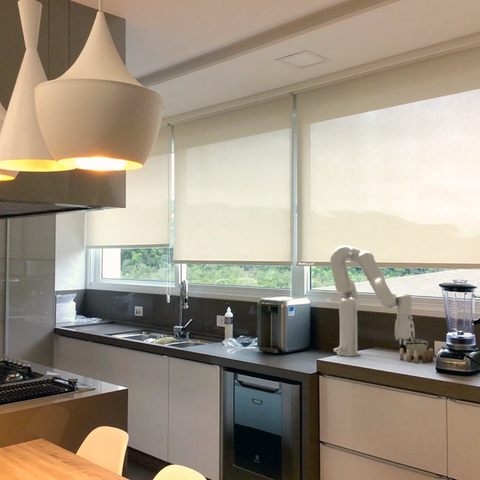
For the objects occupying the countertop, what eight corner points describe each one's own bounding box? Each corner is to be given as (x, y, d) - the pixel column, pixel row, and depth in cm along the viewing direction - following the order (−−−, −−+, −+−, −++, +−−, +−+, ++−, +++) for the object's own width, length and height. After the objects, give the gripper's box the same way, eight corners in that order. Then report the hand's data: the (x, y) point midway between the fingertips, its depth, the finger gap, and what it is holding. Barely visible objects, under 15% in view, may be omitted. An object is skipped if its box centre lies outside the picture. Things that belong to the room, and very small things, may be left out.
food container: (423, 357, 294) (424, 338, 293) (427, 360, 288) (428, 341, 287) (400, 357, 293) (401, 338, 292) (404, 360, 287) (405, 341, 286)
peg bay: (420, 364, 277) (420, 352, 277) (399, 360, 288) (399, 348, 288) (438, 361, 285) (438, 349, 285) (416, 357, 296) (416, 346, 296)
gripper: (420, 318, 291) (420, 353, 290) (397, 316, 303) (397, 349, 303) (411, 319, 287) (410, 355, 286) (388, 316, 299) (388, 350, 299)
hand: (404, 352), depth 295 cm, fingers closed
